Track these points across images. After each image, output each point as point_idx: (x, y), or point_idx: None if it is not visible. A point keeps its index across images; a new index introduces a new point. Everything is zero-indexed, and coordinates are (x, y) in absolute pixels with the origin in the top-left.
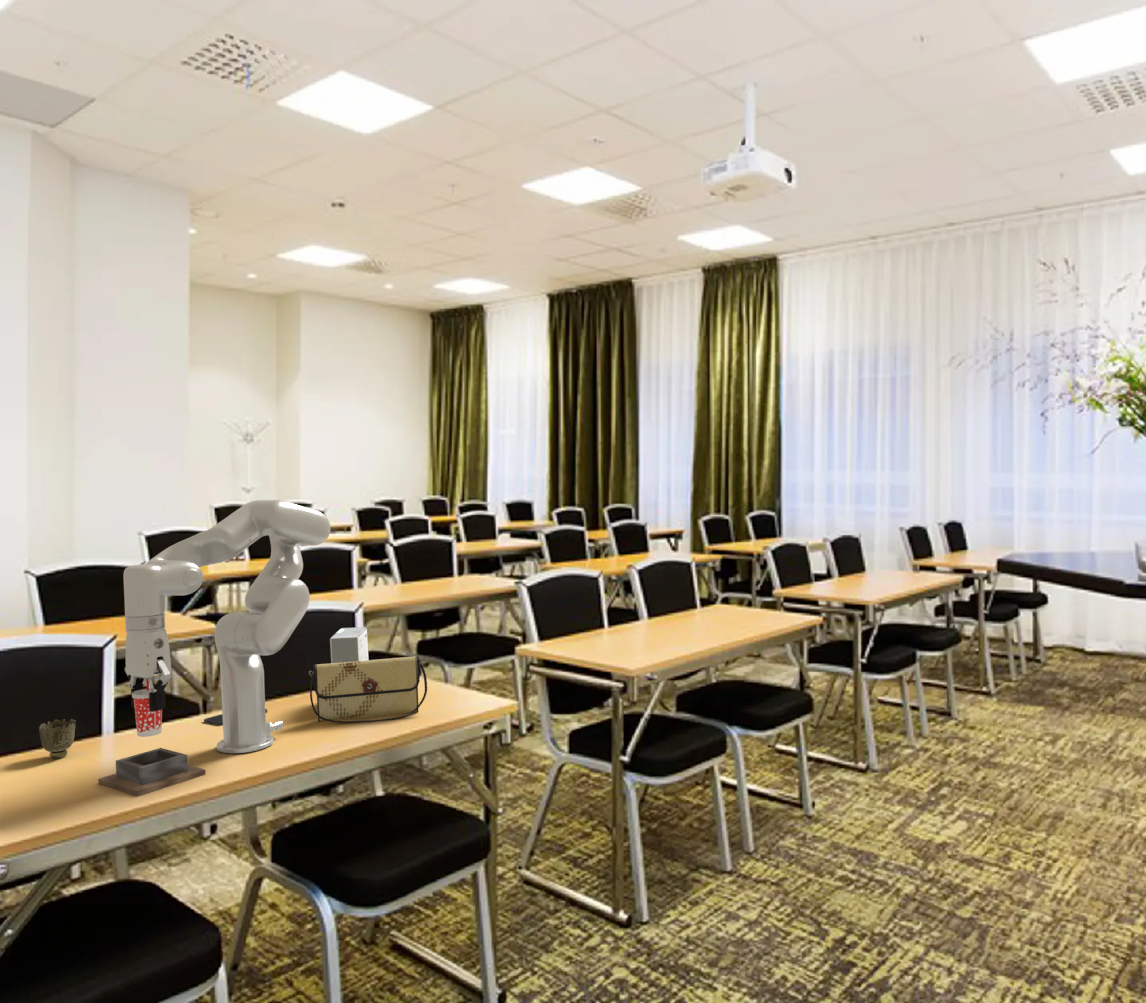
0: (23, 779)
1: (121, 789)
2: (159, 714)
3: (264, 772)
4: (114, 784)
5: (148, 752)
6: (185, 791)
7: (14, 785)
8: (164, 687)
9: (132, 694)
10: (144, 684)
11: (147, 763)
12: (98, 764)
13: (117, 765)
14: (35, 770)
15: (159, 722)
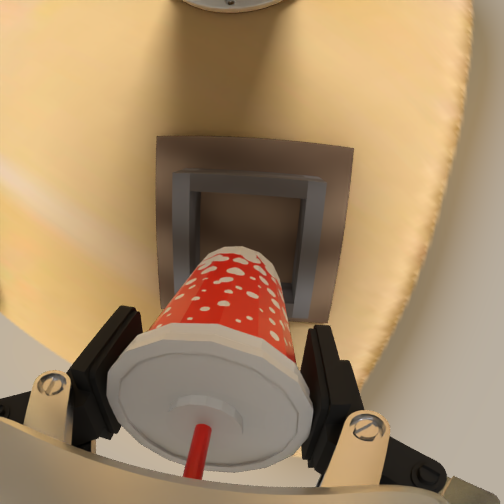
0: (42, 331)
1: None
2: (284, 314)
3: (461, 92)
4: None
5: (184, 221)
6: (400, 254)
7: (62, 353)
8: (397, 446)
9: (185, 462)
10: (71, 385)
11: (196, 221)
12: (46, 225)
13: None
14: (13, 295)
15: (280, 294)
